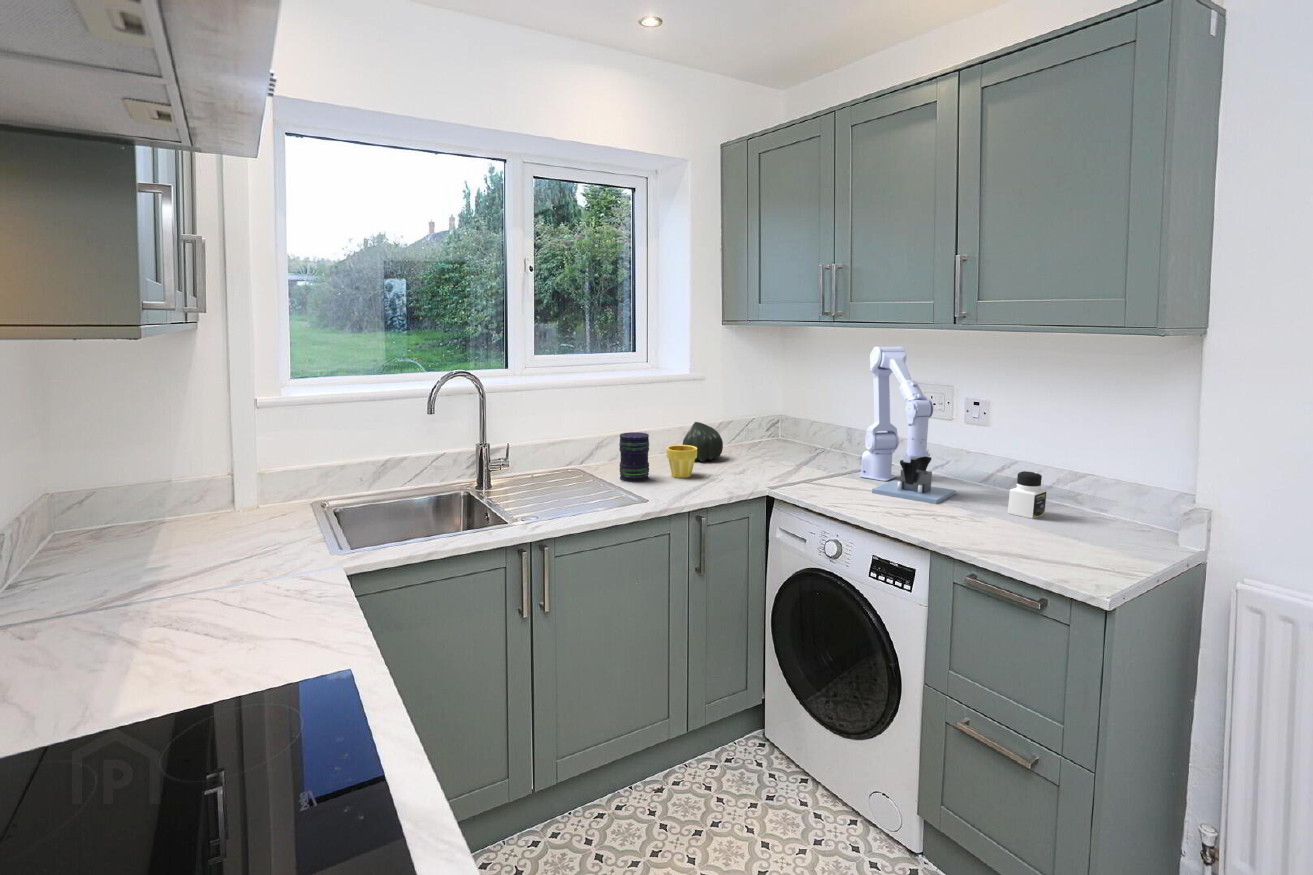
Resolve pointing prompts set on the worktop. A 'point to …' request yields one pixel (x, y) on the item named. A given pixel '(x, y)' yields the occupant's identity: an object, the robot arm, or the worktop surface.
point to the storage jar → (634, 457)
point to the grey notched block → (918, 481)
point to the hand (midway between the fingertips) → (914, 481)
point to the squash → (704, 441)
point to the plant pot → (681, 460)
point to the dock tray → (931, 497)
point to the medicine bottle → (1027, 496)
